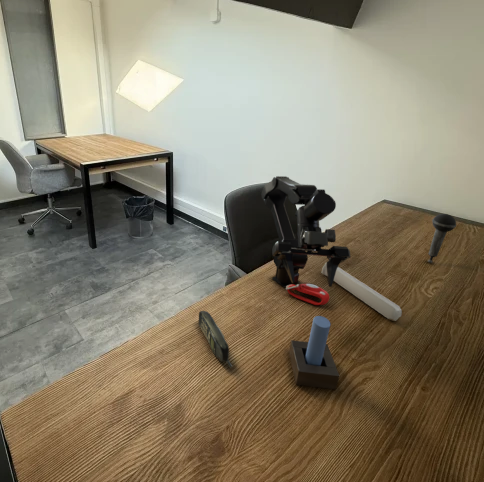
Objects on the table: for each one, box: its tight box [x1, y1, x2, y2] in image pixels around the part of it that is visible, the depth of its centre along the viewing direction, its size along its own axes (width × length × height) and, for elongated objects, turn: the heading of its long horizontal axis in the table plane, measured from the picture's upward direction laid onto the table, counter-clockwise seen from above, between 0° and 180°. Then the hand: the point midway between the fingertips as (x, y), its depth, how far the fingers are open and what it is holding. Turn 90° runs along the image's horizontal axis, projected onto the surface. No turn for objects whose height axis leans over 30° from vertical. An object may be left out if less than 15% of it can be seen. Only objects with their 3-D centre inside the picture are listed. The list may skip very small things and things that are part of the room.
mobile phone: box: [198, 310, 233, 369], centre depth 74 cm, size 5×3×15 cm
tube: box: [320, 262, 403, 322], centre depth 94 cm, size 5×5×25 cm
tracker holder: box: [285, 283, 330, 306], centre depth 92 cm, size 12×4×10 cm
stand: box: [288, 340, 340, 390], centre depth 68 cm, size 8×8×4 cm
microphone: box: [427, 213, 457, 264], centre depth 111 cm, size 7×7×20 cm
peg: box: [305, 315, 331, 366], centre depth 67 cm, size 3×3×14 cm
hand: (311, 284), depth 77 cm, fingers open, 9 cm apart
